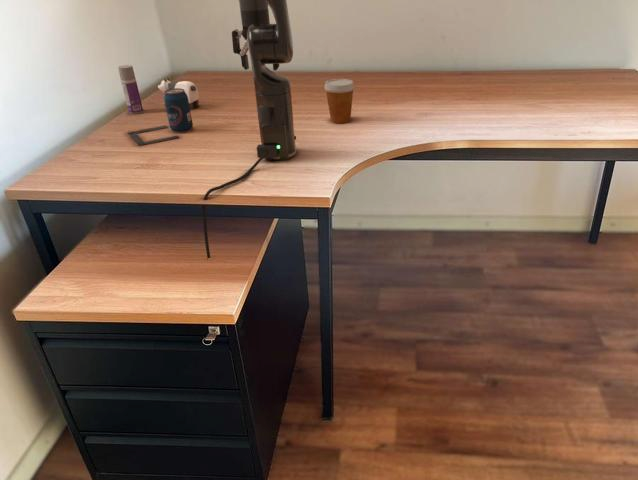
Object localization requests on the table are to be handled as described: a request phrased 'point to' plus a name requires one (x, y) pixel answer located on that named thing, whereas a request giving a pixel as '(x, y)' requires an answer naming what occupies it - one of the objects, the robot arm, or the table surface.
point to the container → (130, 89)
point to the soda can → (178, 110)
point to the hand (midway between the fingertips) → (261, 69)
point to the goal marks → (140, 141)
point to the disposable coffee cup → (339, 99)
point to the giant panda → (188, 88)
